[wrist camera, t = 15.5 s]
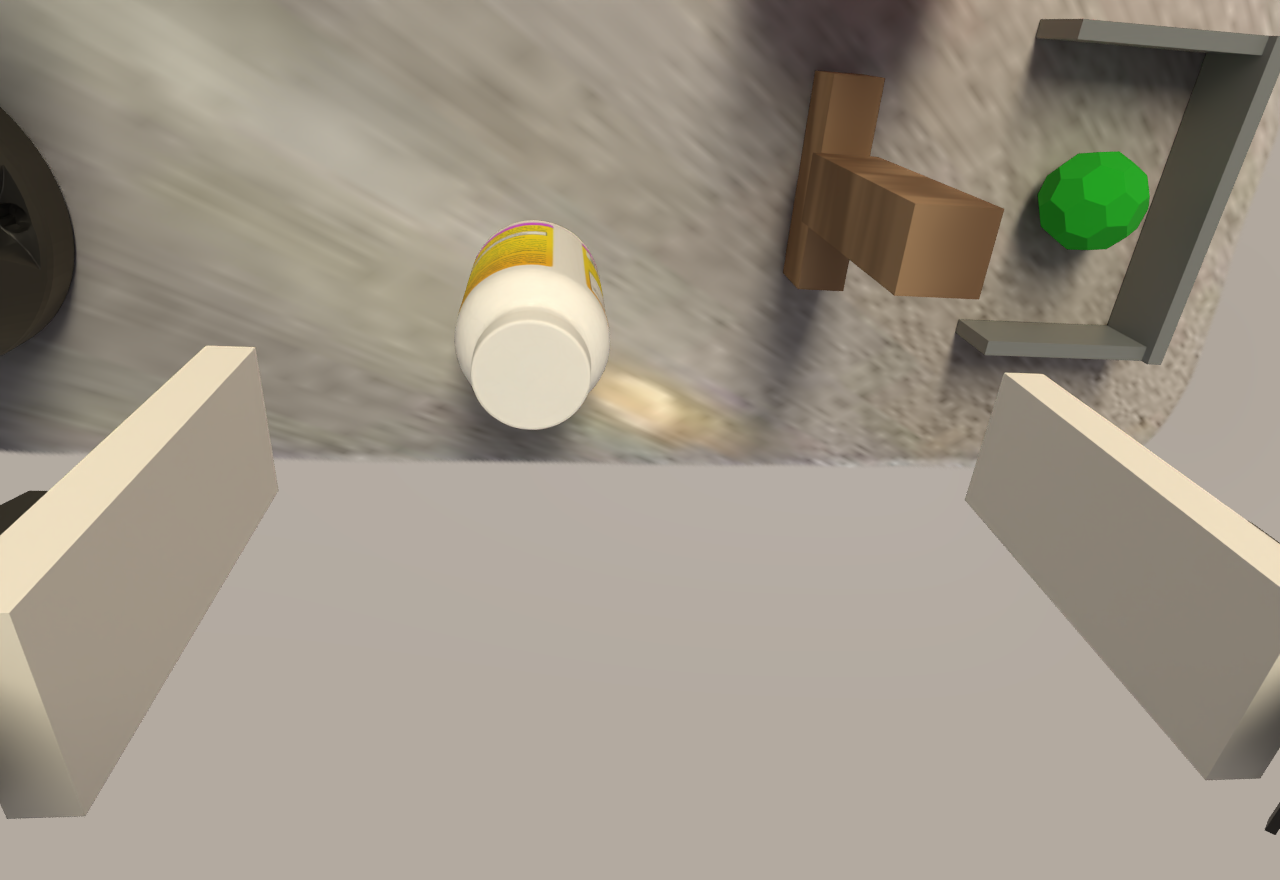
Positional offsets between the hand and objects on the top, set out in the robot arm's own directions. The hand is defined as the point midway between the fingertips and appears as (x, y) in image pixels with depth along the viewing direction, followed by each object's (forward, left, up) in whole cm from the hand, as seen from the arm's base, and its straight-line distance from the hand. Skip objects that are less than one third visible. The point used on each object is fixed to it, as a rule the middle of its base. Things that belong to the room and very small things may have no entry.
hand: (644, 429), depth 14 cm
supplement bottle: (+2, -6, -29) cm, 30 cm away
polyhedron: (+19, +17, -29) cm, 39 cm away
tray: (+20, +18, -29) cm, 39 cm away
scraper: (+9, +8, -29) cm, 31 cm away
